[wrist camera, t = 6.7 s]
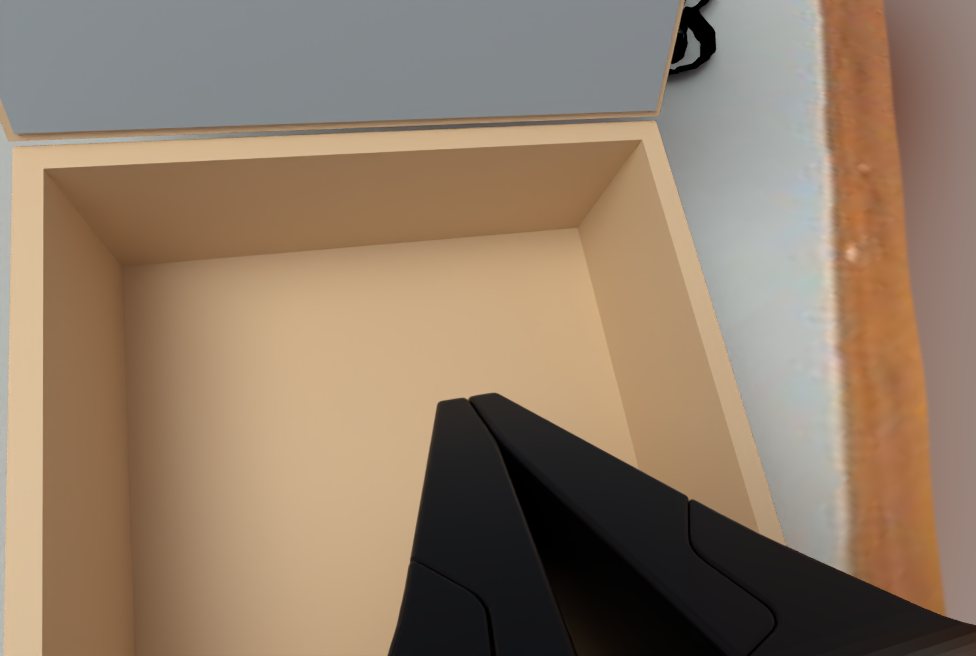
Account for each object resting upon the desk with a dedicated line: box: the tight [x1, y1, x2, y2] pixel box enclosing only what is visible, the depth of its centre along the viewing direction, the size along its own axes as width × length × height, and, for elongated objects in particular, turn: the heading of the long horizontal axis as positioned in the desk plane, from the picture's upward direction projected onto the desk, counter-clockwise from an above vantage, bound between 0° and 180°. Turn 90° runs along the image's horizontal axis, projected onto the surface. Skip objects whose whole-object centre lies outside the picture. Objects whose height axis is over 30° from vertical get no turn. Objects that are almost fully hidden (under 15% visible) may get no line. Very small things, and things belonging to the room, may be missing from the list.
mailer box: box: [4, 121, 786, 656], centre depth 17 cm, size 16×16×6 cm
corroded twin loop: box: [668, 0, 716, 76], centre depth 28 cm, size 5×8×1 cm, turn 174°
